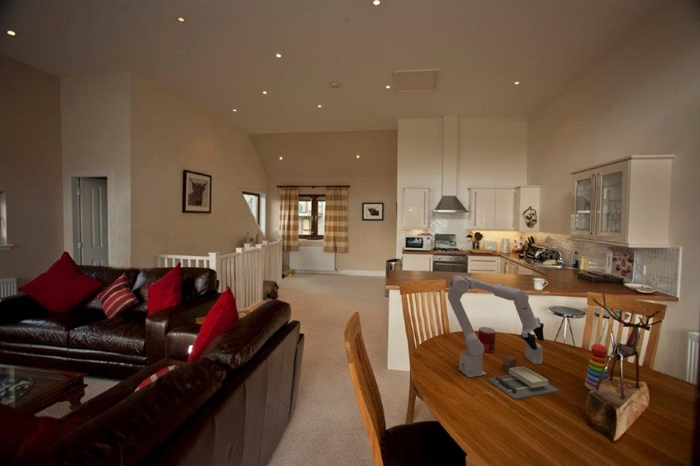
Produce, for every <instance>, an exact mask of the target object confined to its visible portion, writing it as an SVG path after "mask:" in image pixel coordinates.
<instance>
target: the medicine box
mask: <svg viewBox="0 0 700 466" xmlns="http://www.w3.org/2000/svg"><path fill="white" fill-rule="evenodd" d="M536 345H537V350H533V349H531V347H530V346H529V345H528V343H527V342H526V341H525V340H524V358H526V359H527V360H528V361H529V362H531V363H532V364H533V365H542V364H543V356H544V355H543V354H544V352H543V350H544V349H543V348H544V347H543V346H542V345H541V344H539V343H538V342H536Z"/></svg>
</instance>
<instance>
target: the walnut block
mask: <svg viewBox="0 0 700 466" xmlns="http://www.w3.org/2000/svg"><path fill="white" fill-rule="evenodd" d="M517 362H518V360H517V358H516V357H514V356H512V355H511V354H509V355H503V356H502V370H503V371H505V372H507V373H508V374H510V373H509V368H514V367H518V366H517V365H518V364H517Z"/></svg>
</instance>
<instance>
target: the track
mask: <svg viewBox="0 0 700 466" xmlns="http://www.w3.org/2000/svg"><path fill="white" fill-rule="evenodd" d="M486 380H487V382H489V383H491V384H492V385H494V386H495V388H497V389H499V390H500V391H502V392H503V393H504V394H505V395H507V396H508V397H509V398H511V399H513V400H514V401H518V400H523V399H527V398H533V397H539V396H544V395H549V394H556V393H559V392H560V389H558V388H557V387H556V386H553V385H551V384H550V383H548V385H545V386H539V387H534V388H532V387H530V386H528V385H527V384H526V383H524V382H523V381H521V380H519V379H518V378H516V377H514V376H513V375H512V374H510V373H509V374H504V375H500V376H499V375H498V376H492V377H487V378H486Z"/></svg>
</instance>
